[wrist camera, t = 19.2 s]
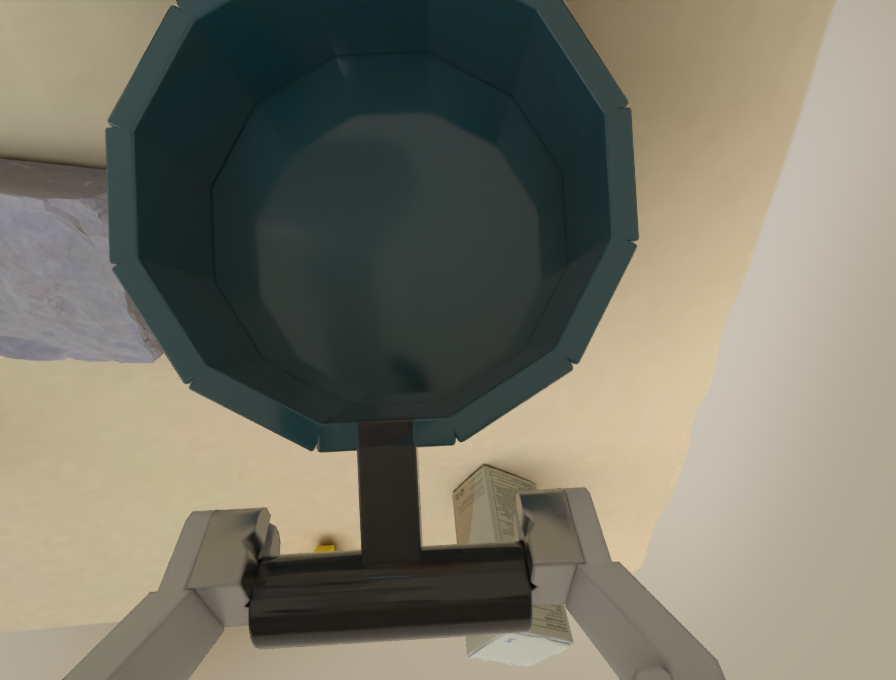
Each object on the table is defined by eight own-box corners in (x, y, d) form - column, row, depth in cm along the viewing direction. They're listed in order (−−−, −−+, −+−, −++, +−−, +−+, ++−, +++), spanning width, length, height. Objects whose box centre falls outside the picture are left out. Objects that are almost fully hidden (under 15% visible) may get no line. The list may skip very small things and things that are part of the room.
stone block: (211, 315, 28) (152, 152, 20) (181, 384, 25) (97, 223, 17) (-12, 295, 27) (-163, 116, 19) (-73, 365, 24) (-281, 184, 16)
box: (450, 492, 37) (460, 657, 28) (484, 462, 35) (506, 631, 26) (504, 512, 39) (529, 671, 30) (539, 484, 37) (577, 647, 28)
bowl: (166, 39, 14) (36, -111, 9) (595, 24, 14) (668, -128, 10) (184, 572, 14) (58, 681, 9) (625, 546, 14) (717, 639, 9)
